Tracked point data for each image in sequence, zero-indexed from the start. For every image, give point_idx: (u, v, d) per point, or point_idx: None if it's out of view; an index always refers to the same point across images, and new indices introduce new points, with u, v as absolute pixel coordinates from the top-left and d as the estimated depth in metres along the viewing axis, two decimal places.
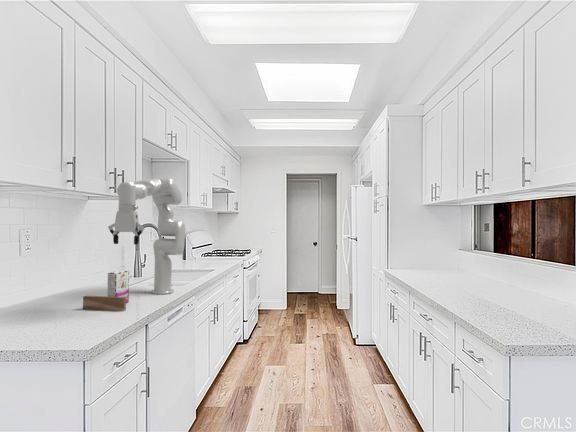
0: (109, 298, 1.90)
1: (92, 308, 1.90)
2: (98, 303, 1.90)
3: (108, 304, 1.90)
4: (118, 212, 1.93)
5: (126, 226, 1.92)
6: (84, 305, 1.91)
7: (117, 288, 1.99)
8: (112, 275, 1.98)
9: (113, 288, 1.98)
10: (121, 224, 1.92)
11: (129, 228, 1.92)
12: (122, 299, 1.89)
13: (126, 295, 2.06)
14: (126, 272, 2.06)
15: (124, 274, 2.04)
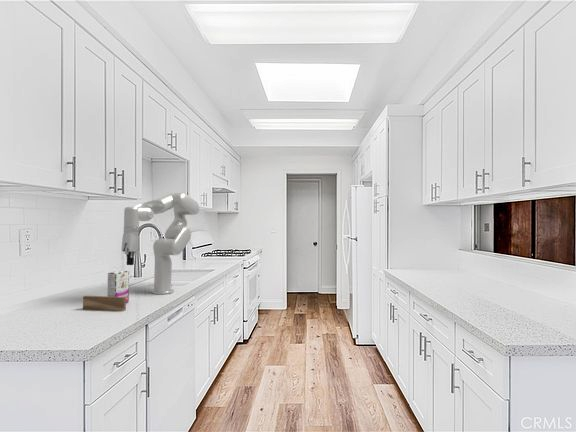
0: (109, 298, 1.90)
1: (92, 308, 1.90)
2: (98, 303, 1.90)
3: (108, 304, 1.90)
4: (132, 234, 2.12)
5: (135, 246, 2.16)
6: (84, 305, 1.91)
7: (117, 288, 1.99)
8: (112, 275, 1.98)
9: (113, 288, 1.98)
10: (133, 244, 2.14)
11: (136, 248, 2.18)
12: (122, 299, 1.89)
13: (126, 295, 2.06)
14: (126, 272, 2.06)
15: (124, 274, 2.04)
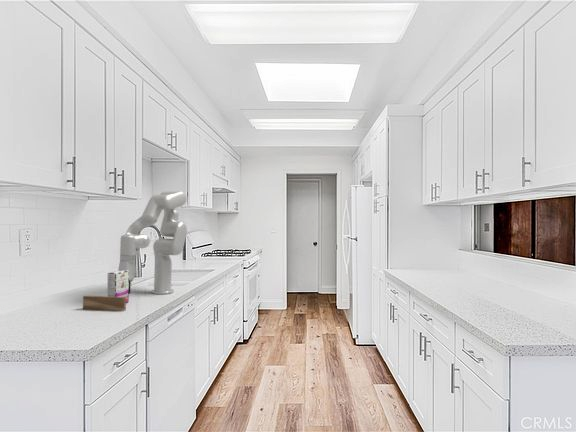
0: (109, 298, 1.90)
1: (92, 308, 1.90)
2: (98, 303, 1.90)
3: (108, 304, 1.90)
4: (128, 263, 2.09)
5: (132, 274, 2.13)
6: (84, 305, 1.91)
7: (117, 288, 1.99)
8: (112, 275, 1.98)
9: (113, 288, 1.98)
10: (130, 273, 2.10)
11: (133, 276, 2.14)
12: (122, 299, 1.89)
13: (126, 295, 2.06)
14: (126, 272, 2.06)
15: (124, 274, 2.04)
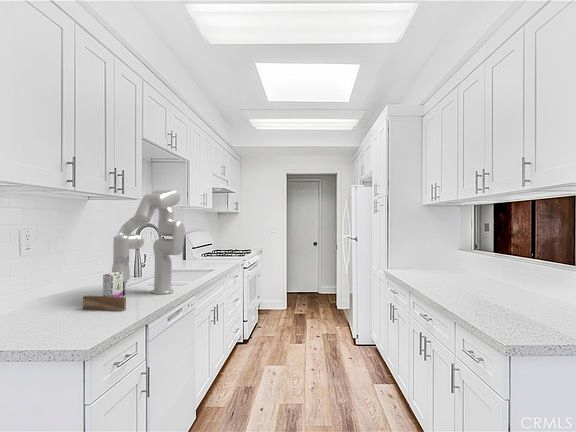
0: (109, 298, 1.90)
1: (92, 308, 1.90)
2: (98, 303, 1.90)
3: (108, 304, 1.90)
4: (122, 264, 2.03)
5: (126, 276, 2.07)
6: (84, 305, 1.91)
7: (113, 290, 1.93)
8: (108, 277, 1.92)
9: (109, 290, 1.92)
10: (124, 275, 2.04)
11: (127, 278, 2.08)
12: (122, 299, 1.89)
13: None
14: (121, 273, 2.00)
15: (119, 276, 1.98)
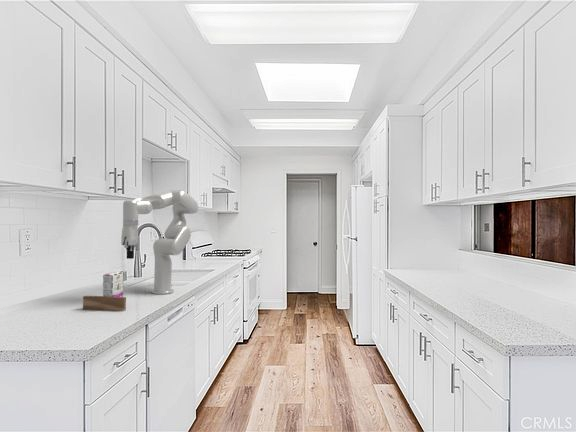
0: (109, 298, 1.90)
1: (92, 308, 1.90)
2: (98, 303, 1.90)
3: (108, 304, 1.90)
4: (131, 227, 2.11)
5: (135, 240, 2.16)
6: (84, 305, 1.91)
7: (113, 290, 1.93)
8: (108, 277, 1.92)
9: (109, 290, 1.92)
10: (133, 238, 2.13)
11: (136, 241, 2.17)
12: (122, 299, 1.89)
13: None
14: (121, 273, 2.00)
15: (119, 276, 1.98)
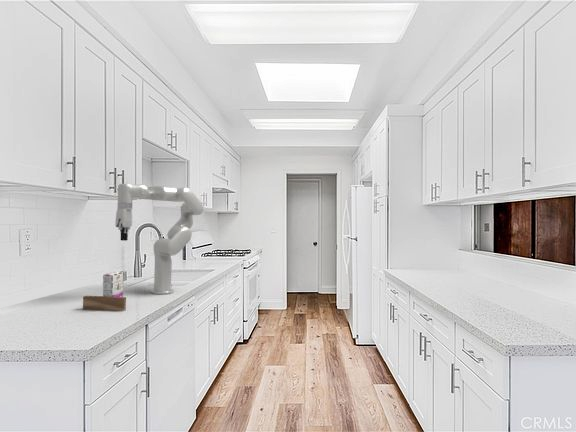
0: (109, 298, 1.90)
1: (92, 308, 1.90)
2: (98, 303, 1.90)
3: (108, 304, 1.90)
4: (125, 210, 2.17)
5: (129, 222, 2.21)
6: (84, 305, 1.91)
7: (113, 290, 1.93)
8: (108, 277, 1.92)
9: (109, 290, 1.92)
10: (127, 220, 2.19)
11: (130, 224, 2.23)
12: (122, 299, 1.89)
13: None
14: (121, 273, 2.00)
15: (119, 276, 1.98)
